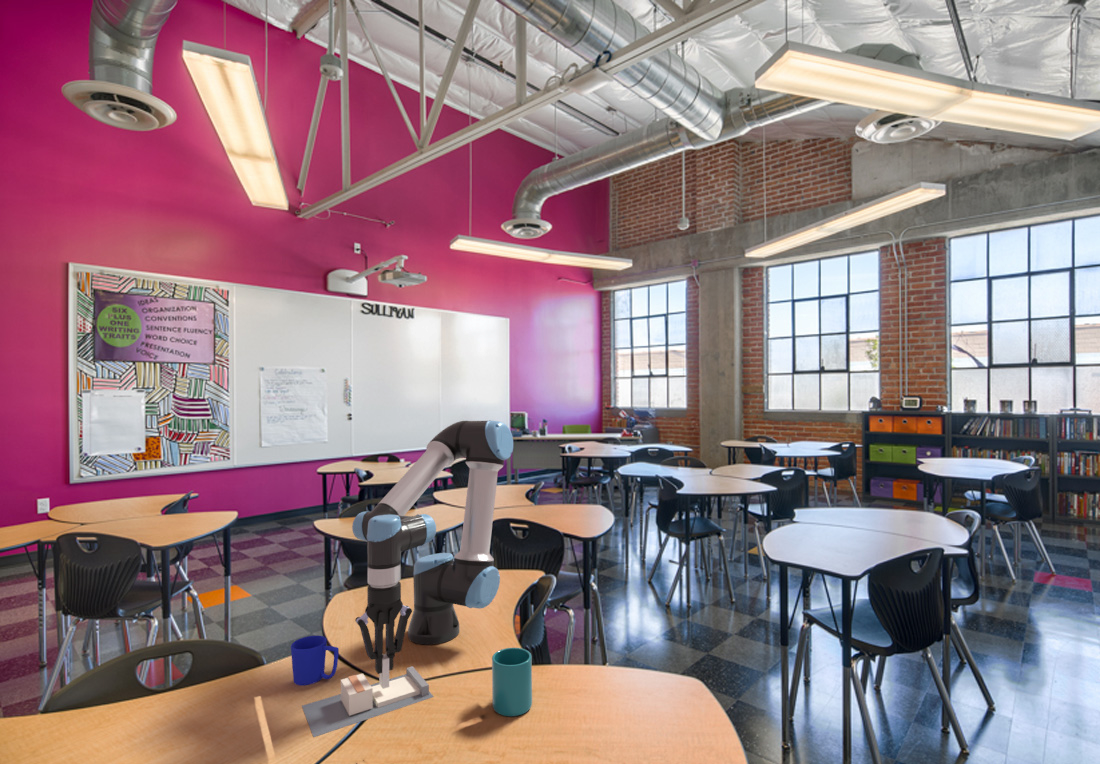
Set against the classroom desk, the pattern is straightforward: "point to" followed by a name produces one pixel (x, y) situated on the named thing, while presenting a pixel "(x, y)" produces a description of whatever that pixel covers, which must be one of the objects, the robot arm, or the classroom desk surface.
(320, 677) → the mug
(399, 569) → the robot arm
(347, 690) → the white box
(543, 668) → the classroom desk surface
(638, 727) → the classroom desk surface
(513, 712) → the cup
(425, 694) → the clipboard
